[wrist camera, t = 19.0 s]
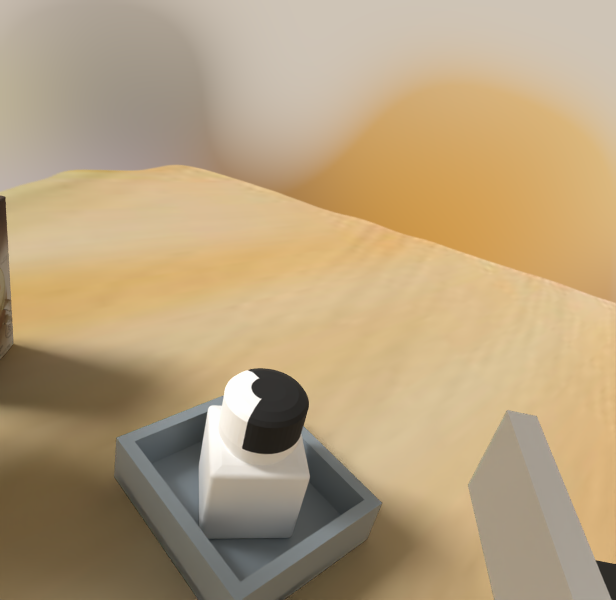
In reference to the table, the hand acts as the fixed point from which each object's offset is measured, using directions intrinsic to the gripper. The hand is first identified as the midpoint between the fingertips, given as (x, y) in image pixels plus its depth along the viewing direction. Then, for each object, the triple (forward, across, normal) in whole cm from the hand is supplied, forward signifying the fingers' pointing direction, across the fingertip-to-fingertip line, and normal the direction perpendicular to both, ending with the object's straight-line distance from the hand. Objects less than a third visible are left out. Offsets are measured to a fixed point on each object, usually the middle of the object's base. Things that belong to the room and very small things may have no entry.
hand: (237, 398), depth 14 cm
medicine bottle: (+21, +2, -29) cm, 36 cm away
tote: (+21, +1, -30) cm, 36 cm away
